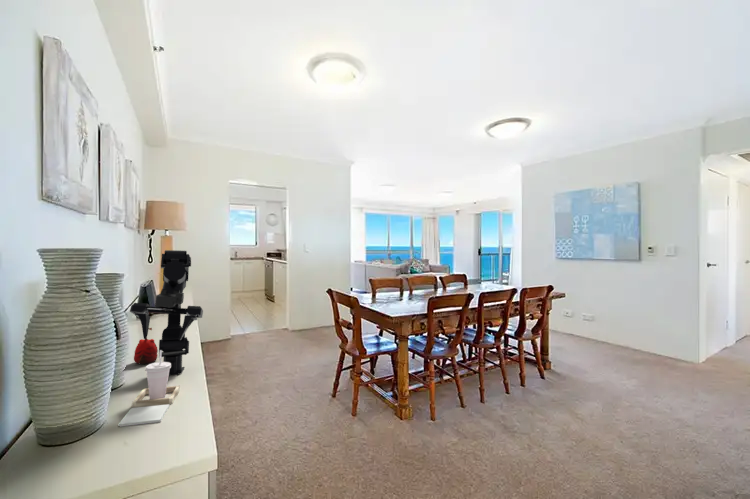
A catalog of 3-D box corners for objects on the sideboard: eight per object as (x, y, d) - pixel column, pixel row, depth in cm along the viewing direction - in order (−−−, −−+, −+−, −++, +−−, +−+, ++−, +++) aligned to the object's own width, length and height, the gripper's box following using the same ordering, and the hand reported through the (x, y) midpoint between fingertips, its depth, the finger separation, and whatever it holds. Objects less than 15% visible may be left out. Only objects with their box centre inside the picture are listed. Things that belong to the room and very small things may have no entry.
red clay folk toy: (159, 359, 135) (160, 320, 136) (154, 364, 129) (155, 324, 129) (136, 360, 133) (137, 321, 133) (130, 366, 126) (131, 325, 126)
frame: (143, 393, 103) (143, 388, 103) (179, 390, 106) (179, 385, 106) (132, 407, 94) (132, 402, 94) (172, 403, 97) (172, 398, 97)
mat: (131, 410, 92) (131, 408, 92) (169, 406, 95) (169, 404, 95) (118, 426, 84) (118, 424, 84) (160, 421, 87) (160, 419, 87)
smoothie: (157, 404, 96) (159, 354, 96) (138, 402, 97) (140, 352, 97) (175, 395, 102) (176, 348, 102) (157, 393, 104) (158, 346, 104)
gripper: (131, 279, 98) (117, 335, 93) (203, 284, 104) (193, 337, 99) (141, 288, 108) (129, 339, 103) (206, 292, 114) (198, 341, 109)
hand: (162, 339), depth 103 cm, fingers open, 9 cm apart
